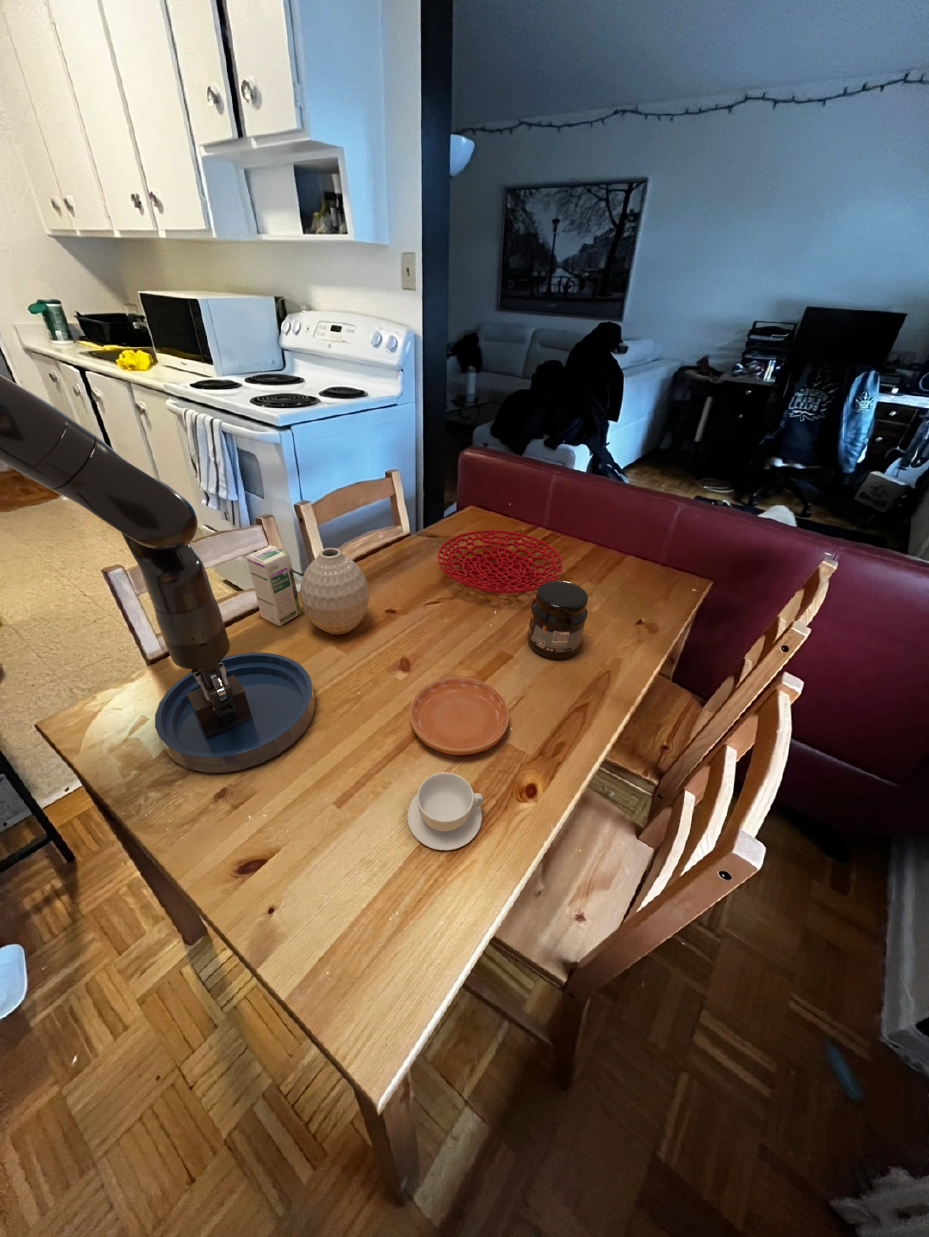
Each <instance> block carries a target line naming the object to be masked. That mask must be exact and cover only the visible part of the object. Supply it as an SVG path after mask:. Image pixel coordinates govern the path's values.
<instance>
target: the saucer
mask: <svg viewBox="0 0 929 1237" xmlns="http://www.w3.org/2000/svg"><path fill="white" fill-rule="evenodd" d="M408 709H409V710H408V716H409V722H410V725H411V728H412V730H413V732H414V733H415V735H416V736H417V737H418V738H419V739H420V741H421V742H422V743H424V744H425V745H426V746H428V747H429V748H431V749H434V750H436V751H438V752H440V753H444V754H447V755H459V756H461V755H462V756H463V755H464V756H465V755H473V754H477V753H480V752H483V751H486V750H488V749H490V748H491V747H493V746H494V745H496V744H497V743H498V742H499V741H500V740H501V739H502V738H503V737H504V736H505V733H506V731H507V729H508V726H509V723H510V709H509V706H508V704H507V702H506V699H505V698H504V697H503V696H502V694H501V693H500V692H499V691H498V690H497V689H496V688H494V687H493V686H491V685H489V684H487V683H485V682H484V681H481V680H478V679H475V678H471V677H467V676H447V677H442V678H439V679H436V680H433V681H431V682H429V683H427V684H426V685H424V686H422V687H421V688H420V689H419V690H418V691H417V692H416V693H415V695H414V696H413V698H412V700H411V701H410V705H409V708H408Z"/></svg>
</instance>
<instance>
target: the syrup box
mask: <svg viewBox="0 0 929 1237" xmlns="http://www.w3.org/2000/svg"><path fill="white" fill-rule="evenodd" d="M245 559H246V563H247V566H248V570H249V574H250V578H251V581H252V585H253V590H254V593H255V597H256V602H257V605H258V609H259V612H260V616H261V618H263V619H264V620H266V621H268V622H269V623H271V624H274V625H276V626H278V627H281V626H283V625H284V624H285V623H287V622H289V621H290V620H293V619H294V618H297V617H298V616H300V615H301V614H302V611H301V605H300V601H299V600H300V599H299V596H298V591H297V590H298V589H297V584H296V579H295V574H294V569H293V565H292V559H291V554H290V552H288V550H287V551H286V550H284V549H283V548H280V547H278V546H275V545H271V544H269V545H268V546H266V547H264V548H262V549H259V550H257V551H255V552H253V553H251V554H247V555H246V556H245Z"/></svg>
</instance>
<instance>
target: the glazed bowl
mask: <svg viewBox="0 0 929 1237" xmlns="http://www.w3.org/2000/svg"><path fill="white" fill-rule="evenodd" d="M221 662H222V663H223V665H224V667H225V670H226V678H228V677H230V676H233V675H235V677H236V678H237V680H238V681H239V683H240V685H241V686H242V688H243V689H244V691H245V694H246V697H247V701H248V704H249V708H250V711H251V714H252V719H250V720H247V721H245V722H243V723H241V724H238V725H236V726H234V727H232V728H230V729H227V730H225V731H223V732H221V733H218V734H216V735H214V736H212V737H209V738H207V739H206V738H205V736H204V734H203V732H202V730H201V728H200V726H199V724H198V722H197V719H196V717H195V714H194V712H193V709H192V706H191V704H190V701H189V699H188V696H187V693H190V692H192V691H195V690H197V689H200V688H201V687H200V684H198V683H197V682H196V680H195V678H194V675H193V674H192V672H191V671H189V672H187V674H185V675H184V676H182V677H181V678H180V679H178V680H177V681H176V682H174V684H173V685H172V686H171V687H170V688H169V689H168V690H167V691H166V692H165V694H164V695H163V697H162V698H161V700H160V701H159V703H158V706H157V708H156V711H155V714H154V727H155V731H156V733H157V735H158V737H159V740H160V742H161V744H162V746H163V749H164V751H165V753H166V754H167V755H168V756H169V758H171V759H172V761H174V762H175V763H177V764H179V765H180V766H182V767H184V768H186V769H188V770H193V771H196V772H197V771H198V772H201V773H228V772H235V771H242V770H246V769H248V768H251V767H254V766H257V765H260V764H262V763H264V762H267V761H269V760H271V759H273V758H274V757H277V756H279V755H280V754H281V753H283V752H285V751H286V750H287V749H289V748H290V747H291V746H292V745H294V743H295V742H296V741H297V740H299V739H300V737H301V736H302V735H303V734H304V733H305V732H306V730H307V728H308V726H309V725H310V723H311V722H312V719H313V716H314V712H315V711H316V710H315V708H316V706H315V705H316V704H315V703H316V700H315V699H316V698H315V693H314V687H313V682H312V680H311V677H310V674H309V673H308V671H307V670H305V668H304V667H303V665H301V664H300V663H299V662H297V661H296V660H294V659H293V658H292V659H291V658H289V657H287V656H284V655H281V654H276V653H271V652H255V651H254V652H244V653H236V654H232V655H228V656H227V655H226V656H225V657H224V658H223V659H222V660H221V661H220V663H221Z"/></svg>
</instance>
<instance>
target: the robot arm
mask: <svg viewBox="0 0 929 1237" xmlns="http://www.w3.org/2000/svg"><path fill="white" fill-rule="evenodd" d="M0 462H1V463H2V464H4V465H5V466H7V467H9V468H11V469H13V470H14V471H16V472H18V473H19V474H22V475H23V476H24V477H27V478H29V479H30V480H32V481H34V482H36V483H37V484H38V485H39V484H40V485H41V486H42V487H44V488H46V489H49V490H50V491H52V492H53V493H55V494H57V495H60V496H62V497H64V498H66V499H68V500H70V501H72V502H74V503H76V504H78V505H80V506H81V507H83V508H84V509H86V510H87V511H88V512H90V513H91V514H93V515H94V516H96V517H97V518H99V519H101V520H102V521H103V522H105V523H106V524H107V525H109V526H110V527H112V528H113V529H115V530H116V531H118V532H120V534H121V535H122V538H123V539H124V541H125V543H126V545H127V547H128V549H129V551H130V553H131V554H132V556H133V558H134V560H135V562H136V563H137V565H138V567H139V570H140V572H141V575H142V578H143V581H144V585H145V588H146V590H147V591H146V592H147V593H148V596H149V598H150V601H151V604H152V606H153V609H154V610H153V611H154V614H155V618H156V623H157V624H158V628H159V631H160V634H161V636H162V638H163V641H164V644H165V645H166V648H167V651H168V653H169V657H170V659H171V661H172V662H173V664H174V665H175V666H177V667H179V668H181V669H186V670H190V672H192V674H193V675H194V678H195V680H196V682H197V683H198V684H200V687H201V689H202V691H203V694H204V696H205V698H206V699H207V700H208V701H211V703H212V706H213V708H212V709H213V711H215V713H216V715H217V718H218V721H219V724H220V726H221V727H222V728H225V727H227V726H230V725H232V724H234V723H235V722H236V719H235V716H234V713H233V711H235V710H236V706H235V703H234V699H233V694H232V688H231V686H229V683H228V680H227V678H226V670H225V667H224V665H223V663H222V662H221V663H220V661H221V660H222V659H223V658H224V657H227V655H228V653H229V651H230V648H231V642H230V639H229V636H228V632H227V629H226V626H225V623H224V618H223V615H222V612H221V609H220V606H219V603H218V601H217V599H216V597H215V595H214V592H213V589H212V586H211V582H210V579H209V575H208V572H207V569H206V566H205V564H204V563H203V561H202V559H201V557H199V556H200V555H198V554H197V553H196V552H195V550H194V548H193V546H192V545H191V542H192V541H193V539H194V538H195V536H196V534H197V531H198V525H199V523H198V517H197V514H196V511H195V509H194V507H193V506H192V504H191V503H190V502H189V500H188V499H187V498H186V497H184V496H183V495H181V494H180V493H179V492H177V490H175V489H174V488H172V487H171V486H170V485H168V484H167V483H165V482H164V481H162V480H161V479H158V478H156V477H153V476H151V475H150V474H148V473H146V472H145V471H143V470H142V469H140V468H138V467H137V466H135V465H134V464H132V463H130V462H129V461H127V460H126V459H125V458H123V457H122V456H121V455H120V454H118V452H117V451H116V450H114V449H113V448H112V447H111V446H110V445H108V444H107V443H106V442H104V441H103V440H102V439H101V438H100V437H98V436H97V435H95V434H94V433H93V432H91V431H90V430H88V429H87V428H86V427H84V426H82V425H81V424H80V423H79V422H77V421H75V420H74V419H73V418H71V417H69V416H68V415H66V414H65V413H63V412H62V411H61V410H59V409H57V408H56V407H55V406H53V405H52V404H50V403H48V402H47V401H46V400H44V399H42V398H41V397H39V396H38V395H36V394H34V393H33V392H31V391H29V390H27V389H26V388H25V387H22V386H21V385H19V384H17V383H16V382H14V381H12V380H11V379H9V378H7V377H5V376H4V375H2V374H0ZM222 681H223V684H224V685H223V686H222ZM206 688H207V689H208V690H212V689H215V690H213V691H210V692H208V691H207V689H206Z"/></svg>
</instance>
